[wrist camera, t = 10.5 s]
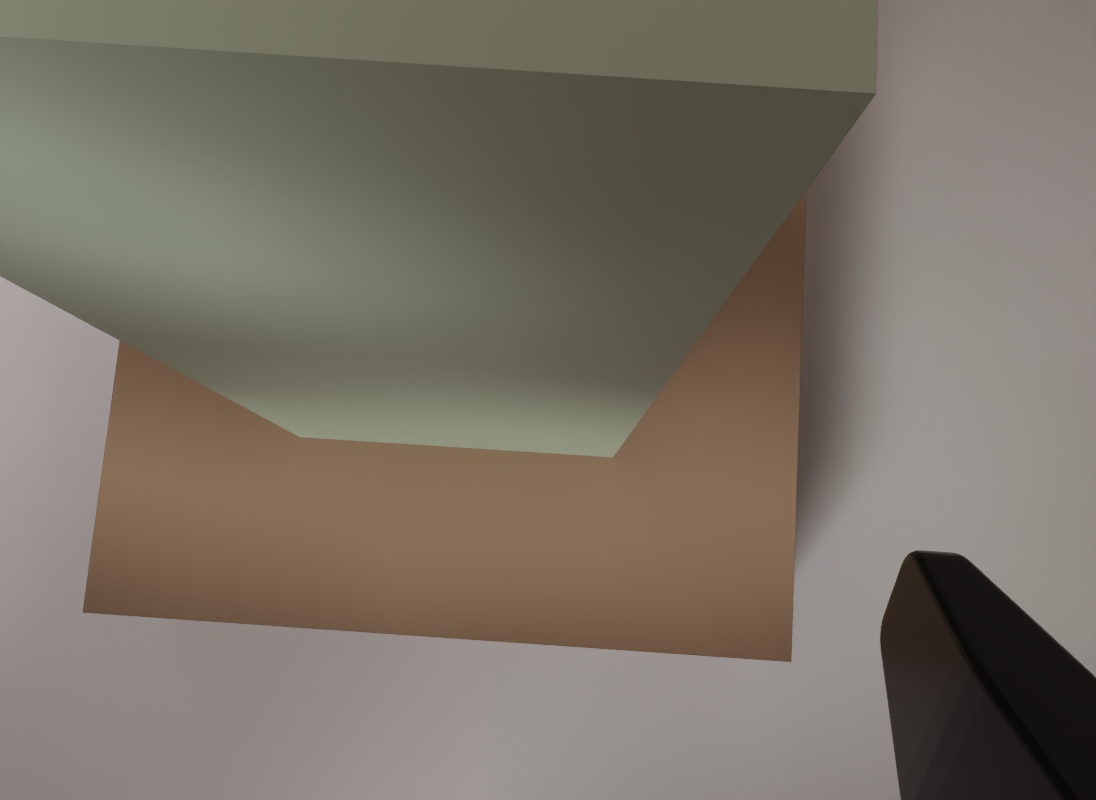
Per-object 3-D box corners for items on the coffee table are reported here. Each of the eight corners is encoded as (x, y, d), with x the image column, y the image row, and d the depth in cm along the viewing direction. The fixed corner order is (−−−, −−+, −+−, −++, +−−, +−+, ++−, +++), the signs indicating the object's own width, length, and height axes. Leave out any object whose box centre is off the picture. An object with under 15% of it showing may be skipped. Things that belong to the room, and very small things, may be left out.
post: (612, 457, 17) (874, 95, 4) (300, 437, 17) (-508, 3, 4) (628, 159, 17) (893, -984, 5) (329, 139, 17) (-249, -1057, 5)
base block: (746, 644, 20) (791, 661, 16) (163, 603, 20) (82, 612, 16) (766, 95, 21) (812, 4, 18) (230, 57, 21) (171, -41, 18)
